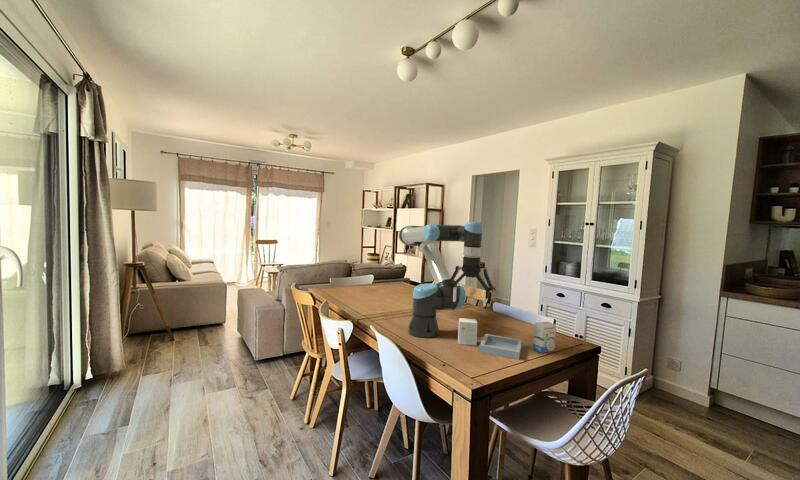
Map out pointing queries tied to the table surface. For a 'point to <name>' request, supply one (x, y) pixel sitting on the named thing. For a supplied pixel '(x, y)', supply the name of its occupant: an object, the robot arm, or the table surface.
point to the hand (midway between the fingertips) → (469, 303)
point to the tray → (501, 346)
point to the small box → (467, 331)
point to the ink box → (544, 337)
